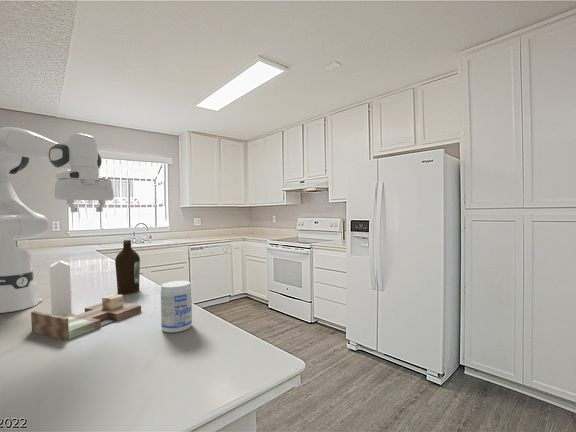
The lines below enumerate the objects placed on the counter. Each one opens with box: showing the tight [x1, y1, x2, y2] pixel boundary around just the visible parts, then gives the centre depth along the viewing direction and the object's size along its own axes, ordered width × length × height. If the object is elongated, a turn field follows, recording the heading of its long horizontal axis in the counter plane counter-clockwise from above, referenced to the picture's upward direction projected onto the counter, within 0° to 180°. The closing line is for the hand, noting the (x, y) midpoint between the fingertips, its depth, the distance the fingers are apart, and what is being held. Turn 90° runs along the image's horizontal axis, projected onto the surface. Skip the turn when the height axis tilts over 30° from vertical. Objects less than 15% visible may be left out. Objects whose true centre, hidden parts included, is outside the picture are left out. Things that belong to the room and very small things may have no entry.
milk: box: [49, 259, 73, 316], centre depth 114 cm, size 6×6×22 cm
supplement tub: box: [160, 280, 193, 334], centre depth 99 cm, size 10×10×15 cm
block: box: [101, 293, 124, 310], centre depth 114 cm, size 5×5×4 cm
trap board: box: [30, 302, 142, 341], centre depth 107 cm, size 18×27×6 cm, turn 156°
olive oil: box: [114, 239, 141, 295], centre depth 145 cm, size 11×11×25 cm
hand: (87, 212), depth 115 cm, fingers open, 8 cm apart
